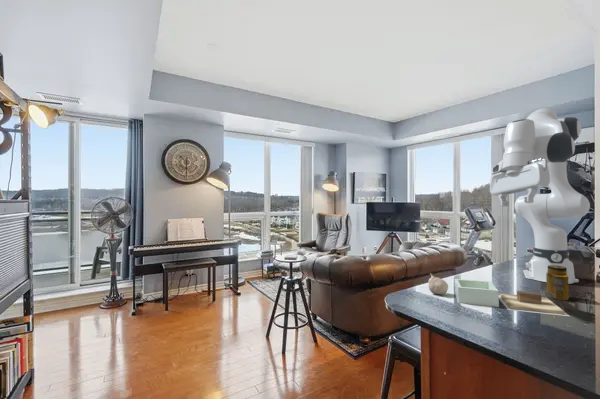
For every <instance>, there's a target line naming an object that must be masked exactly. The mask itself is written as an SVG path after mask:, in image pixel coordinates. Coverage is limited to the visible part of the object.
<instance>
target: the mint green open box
mask: <svg viewBox="0 0 600 399" xmlns="http://www.w3.org/2000/svg"><path fill="white" fill-rule="evenodd" d="M454 295H455V298H456V301H457V303H458V305H460V304H465V305H466V304H467V305H477V306H478V305H479V306H487V307H496V308H500V299H499V295H500V293H499V290H498V289H497V287H496V286H495V285H494V284H493V282H491V281H487V280H477V279H476V280H475V279H462V278H454Z"/></svg>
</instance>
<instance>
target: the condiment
mask: <svg viewBox="0 0 600 399" xmlns="http://www.w3.org/2000/svg"><path fill="white" fill-rule="evenodd" d="M547 268H548V270H547V271H548V272H547V274H546V282H545V283H546V298H548V299H551V300H556V301H568V300H569V298H570V296H569V290H570V287H569V284H568V275H567V268H566V267H563V266H556V265H549V266H548V267H547Z"/></svg>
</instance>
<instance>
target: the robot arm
mask: <svg viewBox="0 0 600 399" xmlns="http://www.w3.org/2000/svg"><path fill="white" fill-rule="evenodd" d="M581 132H582V125H581V122H580V121H579V119H578V118H577V117H576V116H575V117H573V116H572V117H570V116H569V117H567V116H566V117H565V118H559V117H558V114H557V113H556V111H555V110H553V109H552V108H547V107H545V108H544V107H542V108H538V109H536V110H534V111H533V112H531V113H530V114H529V115H528V116H527V117H526V118H525V119H518V120H513V121H511V122H509V123H507V125H506V128H505V132H504V137H503V155H502V160H500V161H499V162H497V164H496V165H494V166H492V168H491V169H490V174H492V175H491V177H490V181H489V193H490V194H491V196H496V197H498V199H499V201H500V206H501V207H503V208H507V207H509V206H510V202H509V201H508V200H507V198H508V195H511V194H517V193H522V192H528V193H527V194H524V195H520V196H518V197H517V198H516V200H515V202H514V210H515V212H516V213H517V214H518V216H520V217H523V219H525V220H526V221H527V222H528V223H529V224H530V227H531V228H532V231H533V236H534V247H533V250H532V254H533V255H532V257H531V258H530V260H529V261H528V262H525V268H528V269H523V274H524V277H525V279H529V280H535V281H537V282H543V283H547V282H546V274H547V272H548V271H547V270H548V268H547V267H548V266H549V265H556V266H563V267H566V268H567V275H568V285H569V284H570V285H571V284H574V283H579V282H580V281H579V279H578V278H576V276H575V268H574V263H573V262H572V261H571V260H570V259H569V258H570V251H569V249H568V234H567V232H566V231H565V230H564V229H563V228H562V227H559V226H557V225H555V224H552V223H551V221H550V220H549V219H574V218H582V217H584V216H586V215H587V214H588V213H589V211H590V208H591V203H590V201H589V199H588V198H587V196H586V195H585V196H584V195H583V194H582V193H580V192H578V191H577V190H576V189H575V188H573V187H572V185H571V184H570V183H569V179H568V171H567V161H568V160H570V159H571V158H572V157H573V156H574V154H575V150H576V144H575V142H576V140H578V139H579V137H580V134H581ZM543 188H548V189H549V190H551V192H550V193H538V191H539V190H538V189H543Z"/></svg>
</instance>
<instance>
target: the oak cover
mask: <svg viewBox="0 0 600 399" xmlns="http://www.w3.org/2000/svg"><path fill="white" fill-rule="evenodd" d="M499 295H500V297H501V298H502V299H503V300H504V302H505V303H506V304H507V305H508V307H509V308H510V309H515V310H525V311H534V312H544V313H553V314H563V315H565V313H566V311H564V309H562V308H561V307H560V306H558V305H557V304H556V303H554V301H552V300H550V298H549V297H547V296H546V297H545V296H544V297H543V296H542V294H540V293H539V292H538V291H526V290H516V294H514V293H513V294H511V293H499Z"/></svg>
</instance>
